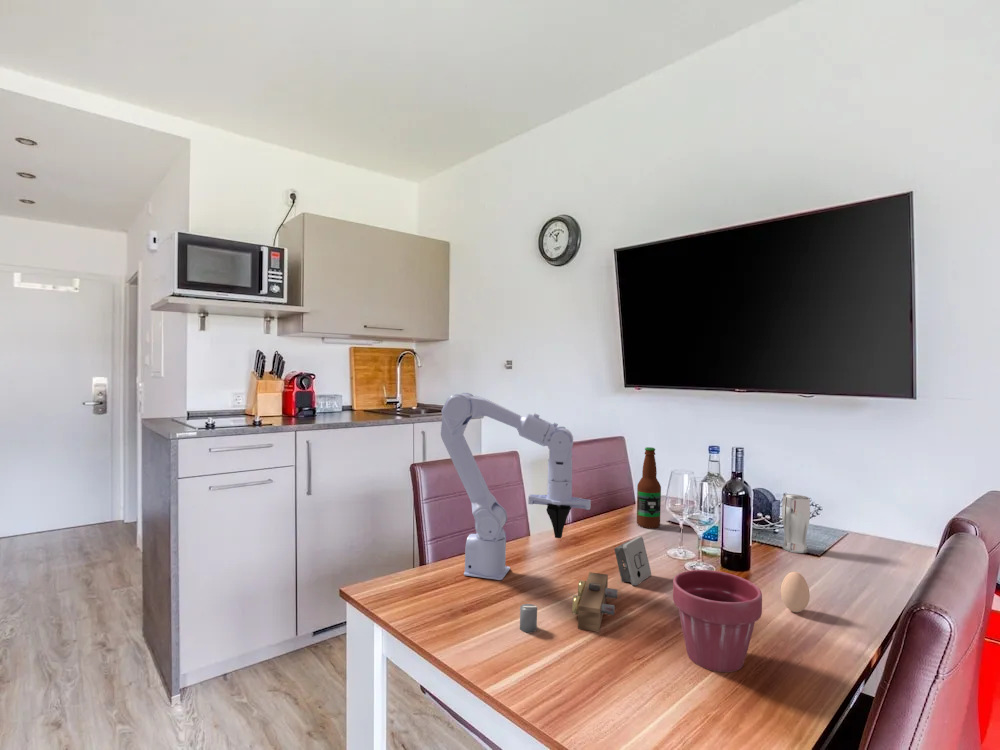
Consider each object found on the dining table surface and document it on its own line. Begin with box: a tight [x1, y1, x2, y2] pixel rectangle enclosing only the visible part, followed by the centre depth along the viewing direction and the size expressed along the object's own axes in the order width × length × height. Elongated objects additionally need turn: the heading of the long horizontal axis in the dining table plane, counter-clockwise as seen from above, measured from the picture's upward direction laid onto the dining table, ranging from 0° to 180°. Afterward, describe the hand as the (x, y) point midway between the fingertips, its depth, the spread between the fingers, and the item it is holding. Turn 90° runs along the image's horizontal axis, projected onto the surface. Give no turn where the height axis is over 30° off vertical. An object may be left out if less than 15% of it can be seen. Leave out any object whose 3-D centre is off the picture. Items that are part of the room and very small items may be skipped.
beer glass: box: [781, 493, 811, 554], centre depth 150 cm, size 7×7×15 cm
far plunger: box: [577, 580, 618, 599], centre depth 113 cm, size 8×3×3 cm, turn 74°
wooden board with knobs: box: [577, 571, 609, 633], centre depth 110 cm, size 4×18×5 cm, turn 164°
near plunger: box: [571, 594, 616, 616], centre depth 106 cm, size 8×3×3 cm, turn 74°
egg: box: [780, 571, 811, 613], centre depth 111 cm, size 5×5×8 cm
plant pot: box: [672, 569, 763, 673], centre depth 92 cm, size 14×14×13 cm
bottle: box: [636, 447, 662, 530], centre depth 171 cm, size 7×7×25 cm
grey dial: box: [519, 603, 538, 634], centre depth 101 cm, size 3×3×4 cm
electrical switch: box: [614, 536, 652, 587], centre depth 127 cm, size 9×5×9 cm, turn 141°
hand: (558, 536), depth 126 cm, fingers closed
